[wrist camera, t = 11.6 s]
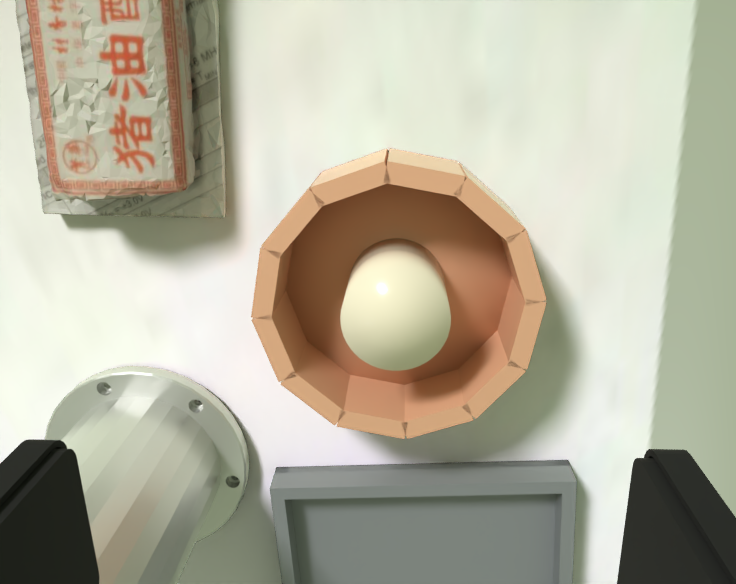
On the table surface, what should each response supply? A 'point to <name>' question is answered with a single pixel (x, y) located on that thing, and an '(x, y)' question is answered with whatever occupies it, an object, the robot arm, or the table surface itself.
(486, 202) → the bowl
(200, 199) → the packaged product
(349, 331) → the egg
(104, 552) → the robot arm
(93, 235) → the table surface
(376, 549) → the tray
